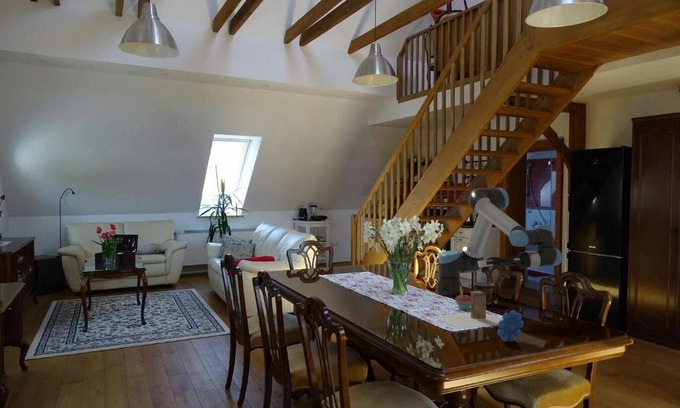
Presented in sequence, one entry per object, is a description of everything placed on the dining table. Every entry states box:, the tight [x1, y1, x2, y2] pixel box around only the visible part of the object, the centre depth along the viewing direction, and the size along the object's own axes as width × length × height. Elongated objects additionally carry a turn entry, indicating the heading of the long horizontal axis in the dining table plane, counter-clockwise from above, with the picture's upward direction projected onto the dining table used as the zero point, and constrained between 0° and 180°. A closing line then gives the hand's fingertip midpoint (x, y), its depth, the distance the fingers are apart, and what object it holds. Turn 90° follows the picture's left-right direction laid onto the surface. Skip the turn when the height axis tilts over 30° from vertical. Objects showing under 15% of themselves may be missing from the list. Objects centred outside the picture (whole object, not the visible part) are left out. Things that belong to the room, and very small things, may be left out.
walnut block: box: [470, 290, 487, 321], centre depth 216 cm, size 5×4×12 cm
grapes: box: [496, 310, 525, 342], centre depth 186 cm, size 12×7×12 cm, turn 109°
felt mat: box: [434, 312, 503, 330], centre depth 215 cm, size 20×26×1 cm
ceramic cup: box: [467, 281, 495, 306], centre depth 248 cm, size 13×10×10 cm
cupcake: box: [454, 286, 471, 310], centre depth 235 cm, size 9×8×12 cm
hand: (478, 264), depth 221 cm, fingers closed
